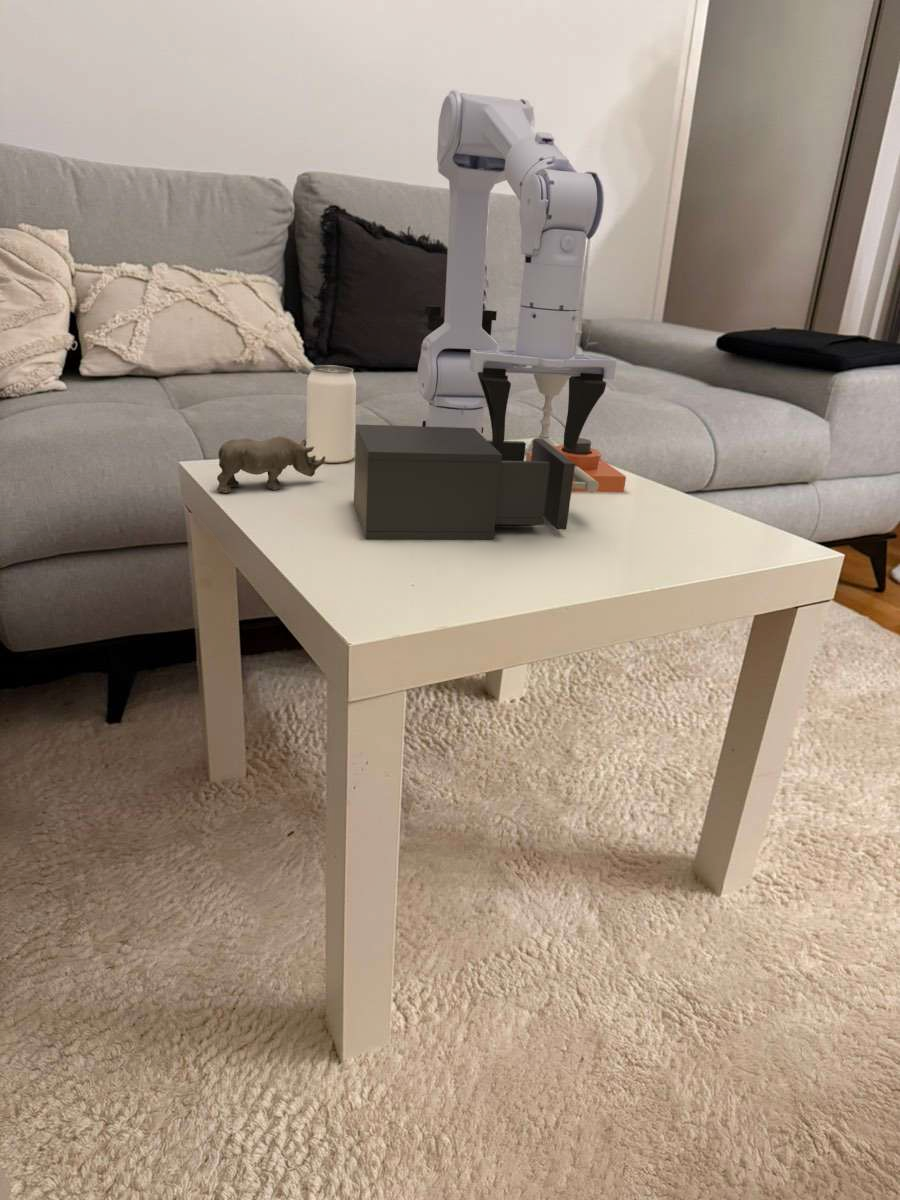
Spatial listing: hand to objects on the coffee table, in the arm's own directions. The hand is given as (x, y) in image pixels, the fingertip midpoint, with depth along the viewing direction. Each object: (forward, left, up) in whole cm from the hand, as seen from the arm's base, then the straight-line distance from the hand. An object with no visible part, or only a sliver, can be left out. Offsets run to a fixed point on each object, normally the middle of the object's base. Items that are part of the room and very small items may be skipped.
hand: (533, 446), depth 88 cm
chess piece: (-37, 0, -10) cm, 38 cm away
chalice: (-37, +14, -10) cm, 41 cm away
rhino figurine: (-18, -26, -10) cm, 33 cm away
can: (-32, -18, -10) cm, 38 cm away
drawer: (-5, 0, -9) cm, 10 cm away
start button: (-23, +13, -6) cm, 27 cm away
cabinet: (-5, -10, -10) cm, 15 cm away
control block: (-23, +14, -10) cm, 28 cm away
